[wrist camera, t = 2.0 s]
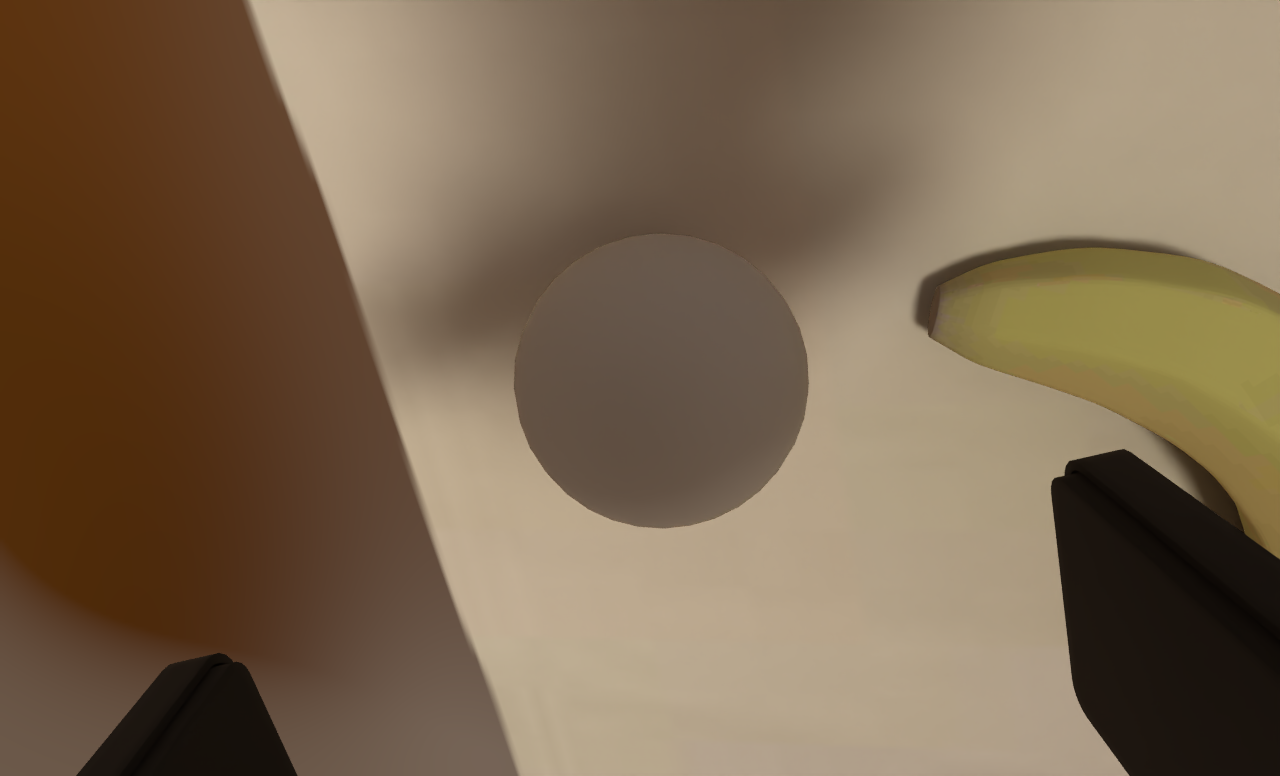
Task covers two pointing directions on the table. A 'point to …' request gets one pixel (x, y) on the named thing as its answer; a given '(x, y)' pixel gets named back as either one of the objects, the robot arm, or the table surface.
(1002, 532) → the table surface
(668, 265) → the lightbulb
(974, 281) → the banana
